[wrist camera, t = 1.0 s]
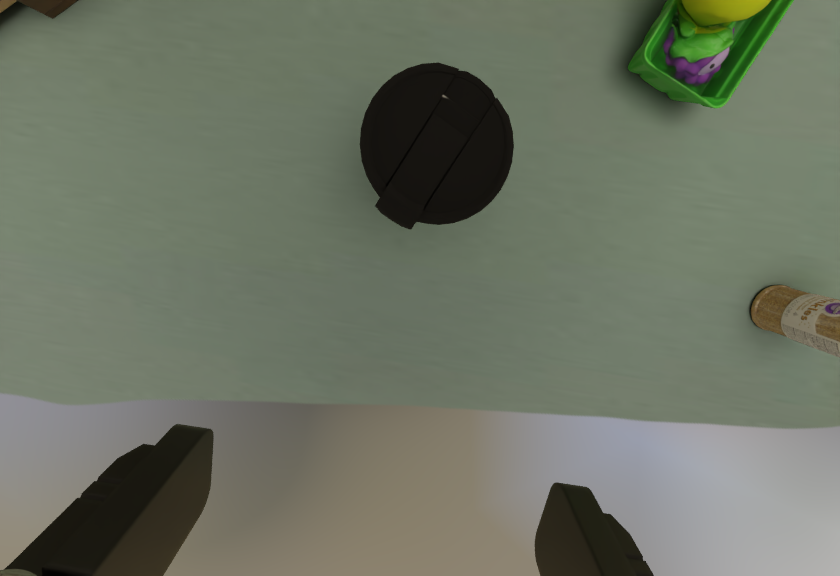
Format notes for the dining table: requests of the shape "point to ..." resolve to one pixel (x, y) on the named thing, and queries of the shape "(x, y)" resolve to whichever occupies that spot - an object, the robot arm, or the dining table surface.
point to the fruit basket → (705, 47)
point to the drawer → (5, 4)
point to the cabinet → (49, 6)
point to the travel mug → (435, 145)
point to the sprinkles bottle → (799, 317)
